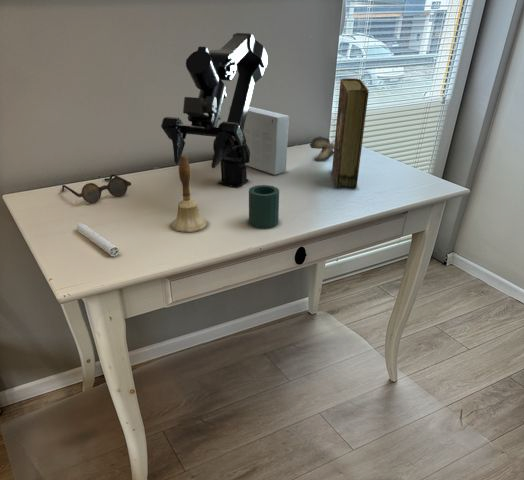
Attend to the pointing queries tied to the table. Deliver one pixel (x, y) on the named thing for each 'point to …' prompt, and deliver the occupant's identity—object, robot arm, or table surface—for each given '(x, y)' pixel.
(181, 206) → the hand bell
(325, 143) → the open clam shell
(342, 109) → the book
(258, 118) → the skincare box
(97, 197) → the eyeglasses
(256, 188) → the jar
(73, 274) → the table surface
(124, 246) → the table surface
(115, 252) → the white cylindrical rod
